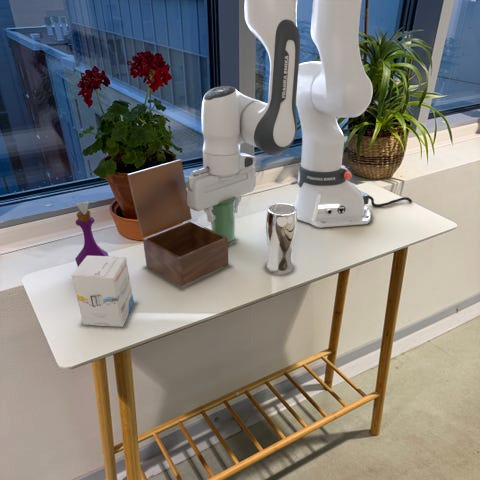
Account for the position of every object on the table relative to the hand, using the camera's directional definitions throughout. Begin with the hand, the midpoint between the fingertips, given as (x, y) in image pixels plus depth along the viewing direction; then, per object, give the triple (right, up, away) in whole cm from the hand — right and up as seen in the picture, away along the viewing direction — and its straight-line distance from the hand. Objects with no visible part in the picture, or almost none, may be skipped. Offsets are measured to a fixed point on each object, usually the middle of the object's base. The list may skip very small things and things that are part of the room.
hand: (222, 216), depth 123 cm
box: (-8, -14, -7) cm, 17 cm away
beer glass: (+14, -14, -7) cm, 21 cm away
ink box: (-23, -25, -23) cm, 41 cm away
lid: (-14, +2, -11) cm, 18 cm away
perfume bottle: (-29, -16, -10) cm, 35 cm away
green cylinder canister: (0, -5, +3) cm, 6 cm away
